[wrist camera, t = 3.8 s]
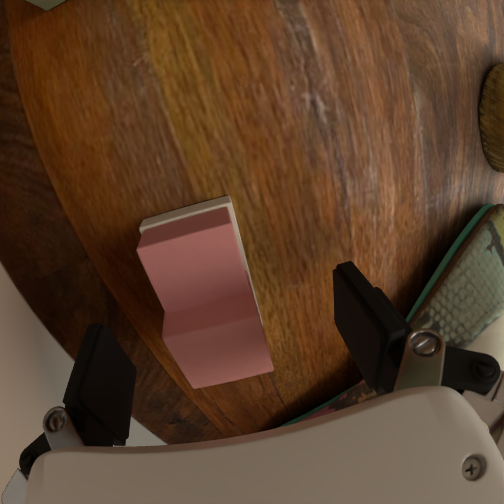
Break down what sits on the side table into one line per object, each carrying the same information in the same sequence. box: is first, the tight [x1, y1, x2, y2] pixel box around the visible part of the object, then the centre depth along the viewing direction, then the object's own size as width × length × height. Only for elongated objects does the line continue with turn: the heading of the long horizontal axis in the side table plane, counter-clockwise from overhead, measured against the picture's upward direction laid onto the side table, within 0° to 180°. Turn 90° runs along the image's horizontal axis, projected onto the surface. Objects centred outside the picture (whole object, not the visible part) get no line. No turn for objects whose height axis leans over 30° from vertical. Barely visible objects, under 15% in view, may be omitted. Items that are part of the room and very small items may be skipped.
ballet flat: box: [278, 204, 504, 428], centre depth 16 cm, size 10×30×11 cm, turn 145°
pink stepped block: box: [136, 196, 274, 389], centre depth 12 cm, size 7×4×4 cm, turn 12°
